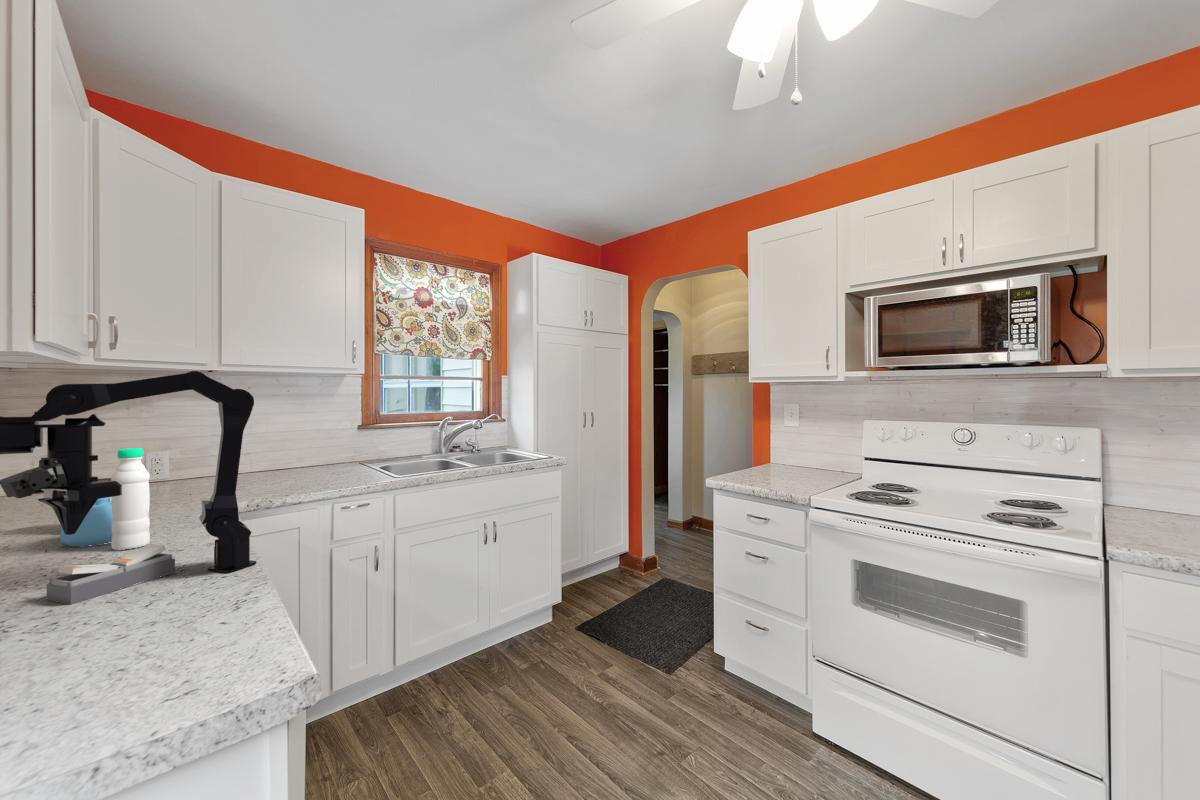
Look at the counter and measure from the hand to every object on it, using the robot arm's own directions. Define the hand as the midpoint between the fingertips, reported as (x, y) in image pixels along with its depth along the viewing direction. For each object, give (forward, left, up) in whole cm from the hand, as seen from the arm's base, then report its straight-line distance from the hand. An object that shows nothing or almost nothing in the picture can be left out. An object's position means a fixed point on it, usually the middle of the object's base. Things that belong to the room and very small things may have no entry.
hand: (70, 534), depth 92 cm
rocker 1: (0, -3, -7) cm, 8 cm away
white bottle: (+28, -25, -12) cm, 40 cm away
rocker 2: (0, -11, -7) cm, 13 cm away
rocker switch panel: (0, -7, -12) cm, 14 cm away
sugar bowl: (+43, -27, -12) cm, 52 cm away
